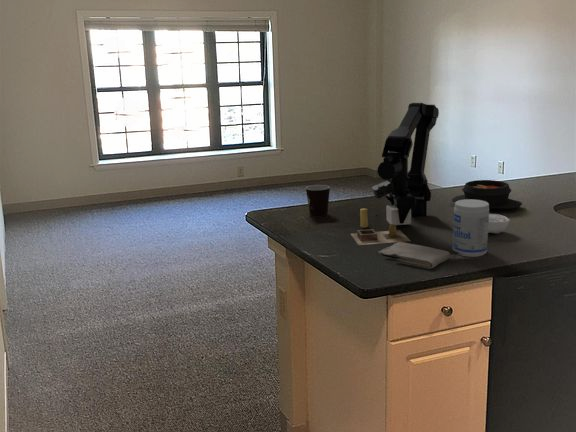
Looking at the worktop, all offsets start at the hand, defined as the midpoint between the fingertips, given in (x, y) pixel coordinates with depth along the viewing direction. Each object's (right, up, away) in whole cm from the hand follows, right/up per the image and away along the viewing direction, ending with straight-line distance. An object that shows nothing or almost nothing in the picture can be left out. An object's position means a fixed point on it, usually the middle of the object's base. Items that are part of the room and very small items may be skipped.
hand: (398, 220), depth 207 cm
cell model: (+27, -4, -7) cm, 28 cm away
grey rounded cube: (0, 0, 0) cm, 0 cm away
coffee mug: (-25, +2, +25) cm, 35 cm away
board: (-8, -6, -11) cm, 15 cm away
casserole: (+36, +5, +23) cm, 43 cm away
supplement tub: (+16, -9, -25) cm, 31 cm away
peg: (-11, -3, +2) cm, 12 cm away
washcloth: (0, -11, -27) cm, 29 cm away
